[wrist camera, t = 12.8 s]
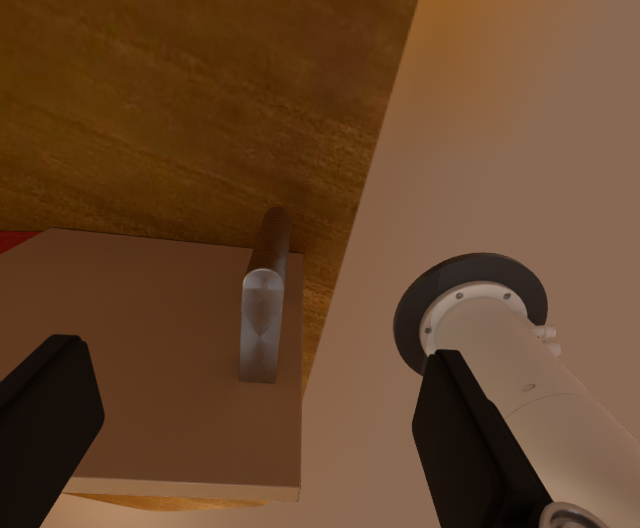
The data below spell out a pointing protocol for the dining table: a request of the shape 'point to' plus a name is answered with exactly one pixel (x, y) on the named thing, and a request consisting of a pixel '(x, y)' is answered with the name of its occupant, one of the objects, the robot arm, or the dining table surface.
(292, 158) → the dining table surface
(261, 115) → the dining table surface
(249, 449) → the door
